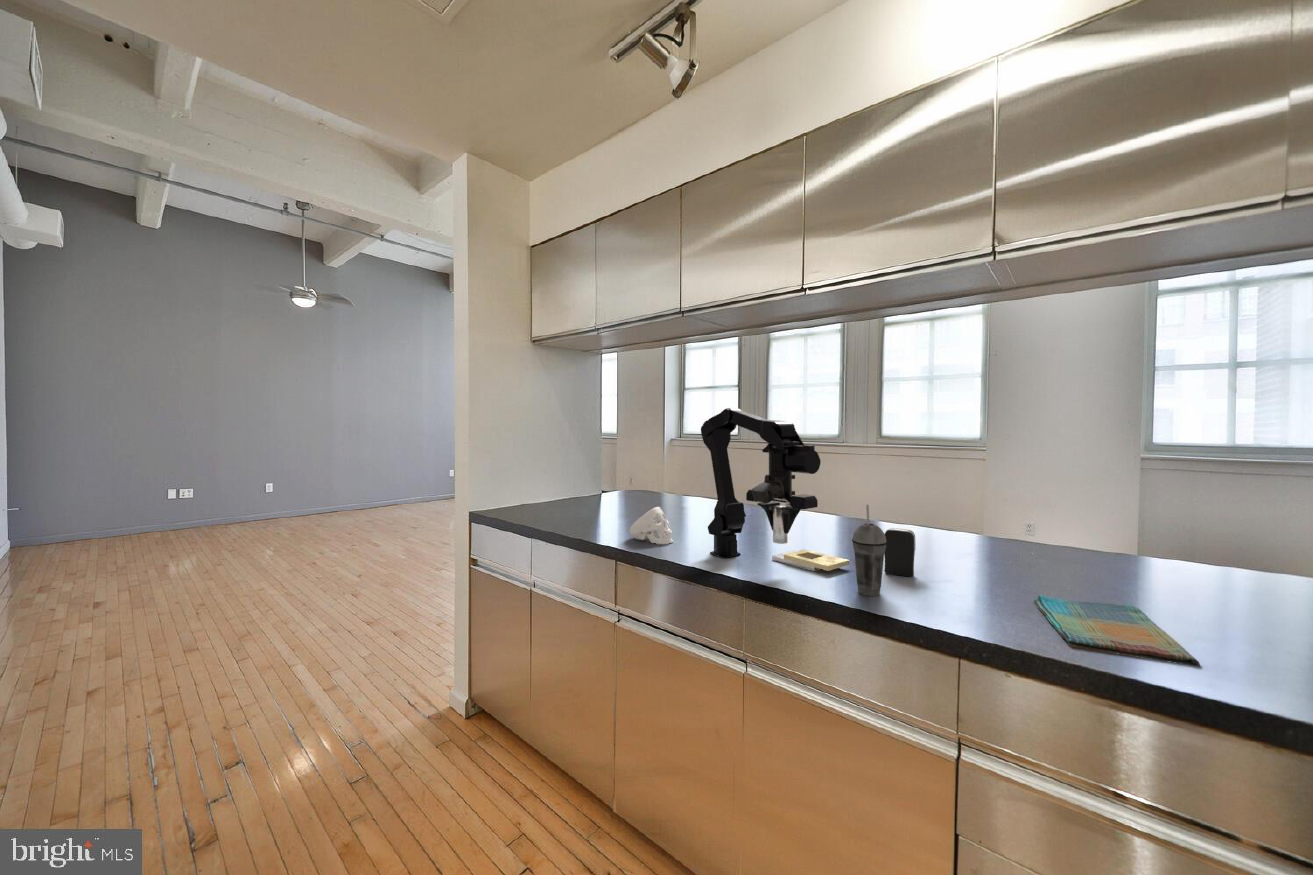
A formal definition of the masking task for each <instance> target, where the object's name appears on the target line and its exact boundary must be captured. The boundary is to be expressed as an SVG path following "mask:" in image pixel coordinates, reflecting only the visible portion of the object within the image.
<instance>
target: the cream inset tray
mask: <svg viewBox="0 0 1313 875" xmlns="http://www.w3.org/2000/svg"><path fill="white" fill-rule="evenodd" d="M771 560H772V561H775V562H779V563H781V562H783V563H782V564H785V563H786V564H785V565H788V564H789V566H791V567H796V568H798V569H799V568H800V569H802V570H803V569H804V570H806V569H808V570H807V571H810V570H811V571H810V572H813V571H814V572H813V573H815V571H816V572H819V571H821V570H820V569H823V571H827V572H828V571H833V570H836V569H839V568H842V567H846V566H849V565H850V560H849V559H846V558H842V557H837V556H834V555H830V554H825V553H821V552H817V551H813V550H809V549H806V548H805V549H804V548H803V549H800V550H791V551H786V552H782V553H777V554H774V555H772V557H771ZM818 570H819V571H818Z"/></svg>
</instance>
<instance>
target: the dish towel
mask: <svg viewBox="0 0 1313 875" xmlns="http://www.w3.org/2000/svg"><path fill="white" fill-rule="evenodd" d="M1033 603H1034V605H1035V606H1036V607H1037V609H1039V611H1040V612H1042V614H1043V615H1044V616H1045V618H1046V619H1047V620H1048V621H1049V622H1050V624H1051V625H1052V626H1053V627H1054V629H1056V631H1057V632H1058V634H1059V635H1060V637H1062V639H1063V640H1064V639H1065V640H1064V641H1065V642H1066V643H1067V646H1068V647H1070V646H1071V648H1075V647H1076V648H1077V649H1081V648H1082V649H1083V650H1089V651H1095V652H1102V653H1110V654H1115V653H1119V654H1118V655H1121V654H1124V655H1123V656H1128V655H1131V656H1130V657H1134V656H1138V657H1137V658H1140V657H1143V658H1142V659H1147V658H1148V660H1155V661H1159V662H1160V661H1162V662H1167V661H1171V662H1170V663H1174V662H1176V663H1175V664H1180V663H1182V665H1188V666H1195V667H1201V664H1200V661H1198V660H1197V659H1196V658H1195V657H1194V656H1193V655H1192V654H1190V652H1188V651H1187V649H1185V648H1184V647H1183V646H1182V645H1181V644H1180V643H1179V642H1178V641H1176V640H1175V639H1174V637H1172V636H1170V635H1169V634H1168V633H1167V632H1166V631H1165V630H1163V629H1162V628H1161V627H1160V626H1159V625H1157V623H1155V622H1154V621H1152V619H1151V618H1149V616H1148V615H1147V614H1146V613H1145V612H1143V611H1142V610H1141V609H1140V608H1139V607H1136V606H1133V605H1131V604H1123V603H1121V604H1120V603H1102V602H1101V603H1099V602H1088V601H1076V600H1075V601H1073V600H1065V599H1061V598H1056V597H1052V596H1048V595H1047V596H1046V595H1042V594H1039V595H1034V599H1033Z"/></svg>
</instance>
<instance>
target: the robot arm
mask: <svg viewBox="0 0 1313 875" xmlns="http://www.w3.org/2000/svg"><path fill="white" fill-rule="evenodd" d="M737 426H738V427H741V428H743V429H746V430H748V431H751V432H754V433H756V434H757V435H759V437H760V438H761V439H762V440H763V441H765V442H766V443H767V445H766V446H765V447H764V448H763V449H762V451H761V452H762V453H766V454H768V474H765V475H764V481H763V482H761V483H759V484H758V485H756V486H754V487H752V488H751V489H748V490H747V492H746V493H745V499H746V501H747V502H755V503H757V506H759V507H761V508H762V509H763V510H764V513H765V514H766V517H767V519H768V522H769V525H770V528H771V531H772V532H773V506H781V503H785V506H786V507H780V508H781V510H782V511H783V513H784V533H785V534H787V533H788V534H789V533H790V530H791V528H792V527H793V524H794V522H795V520H796V518H797V516H798V515H799V513H800V511H801V510H808V509H814V508H815V509H816V508H818V503H819V502H818V498H817V497H816V495H813V494H812V495H811V494H805V493H804V494H796V491H795V490H792V489H793V485H792V484H793V480H795V479H796V475H795V474H793V473H797V474H799V473H800V474H807V475H808V474H809V475H814V474H816V473H817V472H819V470H820V467H821V458H820V455H819V453H818V452H817V451H816V450H815V445H811V444H809V445H805V444H804V442H803V441H802V439H801V436H800V435H799V433H798V432H797V430H796V426H795V424H794V423H793V422H791V421H787V420H786V421H785V420H774V419H772V420H771V419H768V418H767V419H766V418H764V417H762V416H758V415H756V414H752V413H750V412H748V411H744V410H742V409H740V408H738V407H737V408H735V407H728V408H727V407H726V408H725V409H723V410H722V411H720V413H717V414H716V415H714V416H712V417H709V419H707V420H705V421H704V422H703V424H702V426H701V427H700V432H701V433H700V434H701V437H702V442H703V444H704V445H705V447H706V448H707V449H708V450H709V452H710V458H711V459H710V460H711V465H712V471H713V472H712V473H713V477H714V483H715V490H716V491H715V492H716V495H717V496H716V497H717V501H716V504H715V507H714V509H713V513H714V514H713V516H714V517H713V519H712V520H711V522H710V523H709V524H708V525H707V531H708V534H709V535H712V536H713V551H709V554H711V555H713V556H716V557H720V558H723V559H727V558H731V557H737V556H740V555H741V552H738V539H737V535H738V534H741V533H742V531H743V527H744V524H746V517H747V516H746V515H747V514H746V512H745V504H744V503H743V502H739V500H738V499H737V498H736V495H735V490H734V483H733V477H732V471H731V466H730V459H729V453H728V452H729V451H728V448H729V445H730V443H731V439H732V437H731V433H732V432H734V431H735V430H736V429H737Z"/></svg>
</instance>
